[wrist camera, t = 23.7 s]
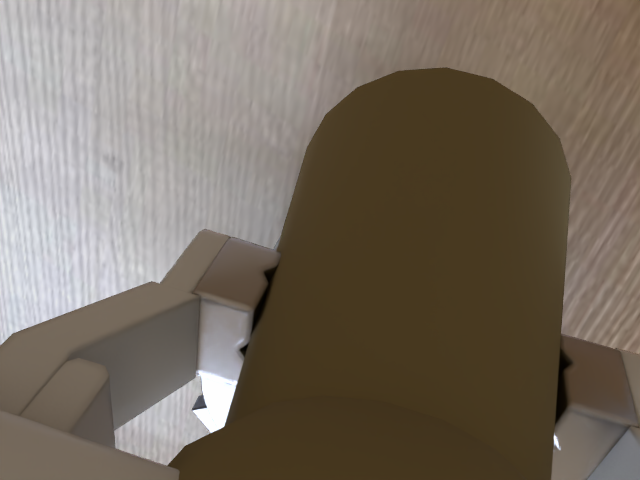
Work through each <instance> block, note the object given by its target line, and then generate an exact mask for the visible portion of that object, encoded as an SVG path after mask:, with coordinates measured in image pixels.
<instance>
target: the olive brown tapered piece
mask: <svg viewBox="0 0 640 480" xmlns="http://www.w3.org/2000/svg"><path fill="white" fill-rule="evenodd" d="M570 190H571V175H570V172H569V168H568V165H567V162H566V158H565V155H564V151H563V148H562V145H561V141H560V138H559V137H558V136H557V135H556V133H555V132H554V131H553V129H552V128H551V127H550V126H549V124H548V123H547V122H546V120H545V119H544V118H543V117H542V115H541V114H540V113H539V112H538V110H537V109H536V108H535V106H534V105H533V104H532V103H530V102H529V101H527V100H525V99H524V98H522V97H521V96H519V95H518V94H516V93H514V92H513V91H511V90H510V89H508V88H506V87H505V86H503V85H502V84H500V83H498V82H497V81H495V80H494V79H491V78H487V77H483V76H478V75H474V74H470V73H466V72H462V71H458V70H454V69H450V68H432V69H418V70H404V71H397V72H395V73H392V74H390V75H387V76H385V77H382V78H380V79H377V80H375V81H372V82H370V83H367V84H365V85H362V86H360V87H357V88H356V89H355V90H354V91H352V92H351V93H350V94H349V95H348V96H347V97H345V98H344V99H343V100H342V101H341V102H340V103H338V104H337V105H336V106H335V107H334V108H333V109H331V110H330V111H329V112H328V113H327V114H326V115H325V117H324V118H323V120H322V122H321V124H320V125H319V127H318V129H317V131H316V133H315V134H314V136H313V138H312V140H311V141H310V143H309V145H308V147H307V150H306V153H305V156H304V160H303V163H302V166H301V170H300V173H299V176H298V180H297V183H296V187H295V190H294V193H293V197H292V200H291V203H290V207H289V210H288V213H287V217H286V220H285V224H284V227H283V230H282V234H281V237H280V240H279V244H278V247H277V250H276V251H279V252H281V258H280V262H279V264H278V267H277V269H276V271H275V273H274V275H273V277H272V278H271V280H270V282H269V284H268V289H267V295H266V298H265V301H264V303H263V306H262V308H261V311H260V313H259V316H258V319H257V321H256V324H255V326H254V329H253V331H252V335H251V338H250V341H249V345H248V348H247V351H246V355H245V358H244V361H243V365H242V368H241V372H240V375H239V378H238V382H237V385H236V388H235V392H234V395H233V398H232V402H231V405H230V409H229V412H228V415H227V419H226V422H225V425H224V427H222V428H220V429H218V430H216V431H214V432H212V433H210V434H208V435H206V436H204V437H202V438H200V439H198V440H196V441H194V442H192V443H190V444H188V445H186V446H185V447H184V448H183V449H182V450H181V451H180V452H179V453H178V455H177V456H176V457H175V458H174V459H173V460H172V461H171V462H170V463H169V465H168V466H169V467H172V468H175V469H178V470H179V472H180V473H179V480H551V476H552V461H553V446H554V431H555V416H556V401H557V386H558V371H559V356H560V340H561V325H562V310H563V295H564V280H565V265H566V250H567V235H568V220H569V205H570Z"/></svg>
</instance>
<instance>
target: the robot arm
mask: <svg viewBox="0 0 640 480" xmlns="http://www.w3.org/2000/svg"><path fill="white" fill-rule="evenodd" d="M280 258H281V252H279V251H276V250H273V249H269V248H266V247H263V246H260V245H257V244H254V243H250V242H247V241H244V240H241V239H238V238H234V237H230V236H227V235H224V234H220V233H217V232H214V231H210V230H207V229H204V230H202V231H200V232H199V233H198V234H197V235H196V237H195V238H194V239H193V240H192V242H191V243H190V244H189V246H188V247H187V248H186V250H185V251H184V252H183V254H182V255H181V256H180V257H179V259H178V260H177V261H176V263H175V264H174V265H173V267H172V268H171V269H170V271H169V272H168V273H167V274H166V276H165V277H164V278H163V280H162V281H161V282H160V284H159V283H155V282H152V281H151V282H148V283H146V284H143V285H140V286H138V287H135V288H132V289H130V290H127V291H124V292H122V293H119V294H116V295H114V296H111V297H109V298H106V299H103V300H101V301H98V302H95V303H93V304H90V305H87V306H85V307H82V308H79V309H77V310H74V311H71V312H69V313H66V314H63V315H61V316H58V317H55V318H53V319H50V320H48V321H45V322H42V323H40V324H37V325H34V326H32V327H29V328H26V329H24V330H21V331H18V332H16V333H13V334H12V335H11V336H10V337H9V338H8V339H7V340H6V341H5V342H4V343H3V344H2V345H1V346H0V480H179V473H180V472H179V470H178V469H175V468H172V467H169V466H166V465H163V464H160V463H157V462H154V461H151V460H148V459H145V458H142V457H139V456H136V455H133V454H130V453H127V452H124V451H121V450H118V449H116V448H115V436H114V430H116V429H117V428H119V427H121V426H122V425H124V424H125V423H127V422H128V421H130V420H131V419H133V418H134V417H136V416H137V415H139V414H140V413H142V412H144V411H145V410H147V409H148V408H150V407H151V406H153V405H154V404H156V403H157V402H159V401H160V400H162V399H163V398H165V397H167V396H168V395H170V394H171V393H173V392H174V391H176V390H177V389H179V388H180V387H182V386H183V385H185V384H187V383H188V382H190V381H191V380H193V379H194V378H195V377H196V375H199V376H202V377H206V378H209V379H213V380H216V381H219V382H223V383H226V384H230V385H233V386H236V385H237V382H238V378H239V375H240V372H241V368H242V365H243V361H244V358H245V355H246V351H247V348H248V345H249V341H250V338H251V335H252V331H253V329H254V326H255V324H256V321H257V319H258V316H259V313H260V311H261V308H262V306H263V303H264V301H265V298H266V295H267V289H268V284H269V282H270V280H271V278H272V277H273V275H274V273H275V271H276V269H277V267H278V264H279V262H280ZM551 480H640V354H636V353H632V352H628V351H625V350H621V349H617V348H616V349H613V348H611V347H607V346H603V345H600V344H596V343H593V342H589V341H586V340H582V339H579V338H575V337H572V336H568V335H565V334H561V340H560V356H559V371H558V386H557V401H556V416H555V431H554V446H553V461H552V476H551Z"/></svg>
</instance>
